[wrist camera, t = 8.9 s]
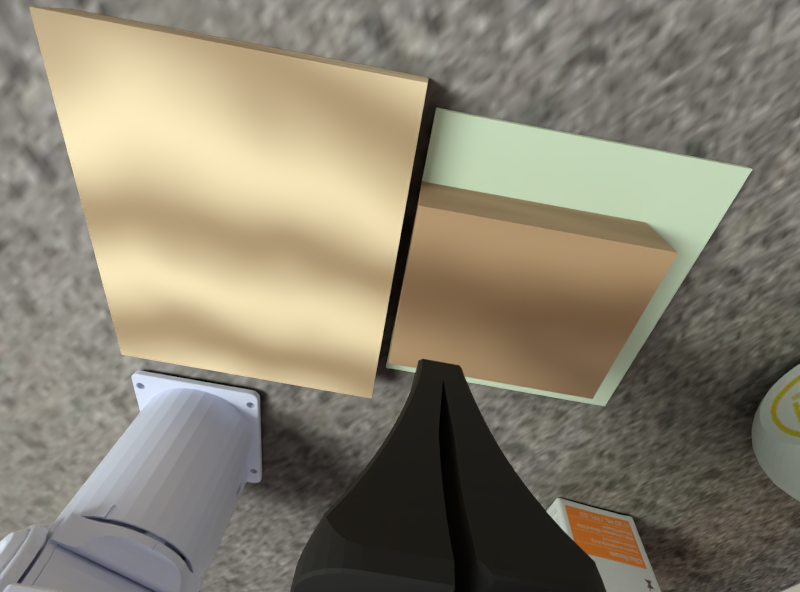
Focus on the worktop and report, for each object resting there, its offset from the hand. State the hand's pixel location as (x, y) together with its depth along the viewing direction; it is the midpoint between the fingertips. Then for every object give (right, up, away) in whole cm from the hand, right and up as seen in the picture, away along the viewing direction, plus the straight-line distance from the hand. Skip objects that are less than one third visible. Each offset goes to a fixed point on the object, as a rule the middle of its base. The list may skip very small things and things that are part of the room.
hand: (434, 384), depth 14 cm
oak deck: (-8, +6, +7) cm, 12 cm away
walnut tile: (+4, +4, +7) cm, 9 cm away
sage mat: (+6, +4, +7) cm, 10 cm away
